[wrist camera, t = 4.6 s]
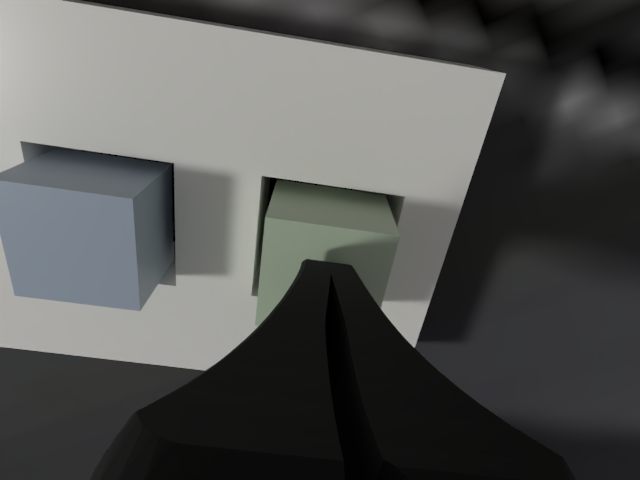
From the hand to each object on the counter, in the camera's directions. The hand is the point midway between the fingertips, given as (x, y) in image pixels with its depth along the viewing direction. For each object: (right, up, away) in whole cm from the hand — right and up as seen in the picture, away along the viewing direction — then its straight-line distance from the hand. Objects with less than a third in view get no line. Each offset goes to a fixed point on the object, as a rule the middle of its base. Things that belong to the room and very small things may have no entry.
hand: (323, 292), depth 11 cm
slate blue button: (-7, +3, +3) cm, 8 cm away
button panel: (-7, +3, +4) cm, 9 cm away
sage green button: (0, +2, +3) cm, 3 cm away
